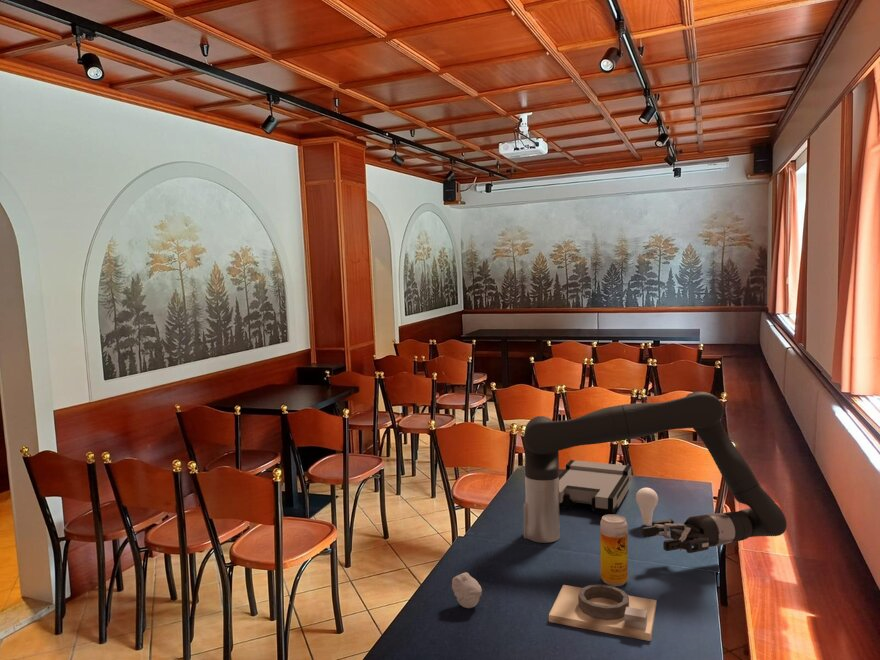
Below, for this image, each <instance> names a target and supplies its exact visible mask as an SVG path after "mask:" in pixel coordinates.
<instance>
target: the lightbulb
mask: <svg viewBox="0 0 880 660" xmlns="http://www.w3.org/2000/svg"><path fill="white" fill-rule="evenodd" d="M635 502H636V504H637V505H638V507H639V510H640V513H641V514H640V515H641V519H642V520H641V522H642V524H643V525H645V527H650V526H652V521H653V520H652V519H653V516H654V515H653V514H654V510H655V509H656V507H657V505H658V502H659V496H658V494H657V492H656V491H655V490H654V489H653V488H650V487H642V488H640V489H639V490H638V491H637V492H636V494H635Z"/></svg>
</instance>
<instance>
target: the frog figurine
mask: <svg viewBox="0 0 880 660" xmlns="http://www.w3.org/2000/svg"><path fill="white" fill-rule="evenodd" d="M451 588H452V591H453V593H454V596H455V597H456V600H457V603H458V604H459V605H460V606H462V607H463V608H466V609H472V608H474V607H476V606H477V605H478V603H479V601H480V598H481V596H482V595H483V594H482V593H483V592H482V591H483V589H482V587H481V585H480V584H479V582H478V581H477V579H475V578H474V577H472V576H471V575H470V574H469V572H466V571H465V572H463V573H460V574H458V575H456V576H454V577H453V578H452V581H451Z"/></svg>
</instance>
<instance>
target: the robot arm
mask: <svg viewBox="0 0 880 660" xmlns="http://www.w3.org/2000/svg"><path fill="white" fill-rule="evenodd" d="M723 415H724V406H723V403H722V401H721V400H720V399H719V398H718V397H717V396H715V395H714V394H712V393H711V392H710V393H709V392H706V391H693V392H690V393H688V394H686V395H685V396H683V397H681V398H676V399H672V400H667V401H661V402H637V403H626V404H619V405H613V406H607V407H603V408H600V409H596V410H594V411H591V412H589V413H586V414H584V415H580V416H578V417H576V418H571V419H564V420H555V421H554V420H552V418H550V417H548V416H544V415H539V416H535V417H533V418H531V419H530V420H529V421H528V422H527V423H526V425H525V429H524V432H523V433H524V434H523V442H524V450H525V451H524V454H525V455H524V485H525V490H524V492H525V502H524V503H523V505H522V506H523V510H522V511H523V538H524V539H527V540H529V541H532V542H535V543H545V544H547V543H553V542H556V541H559V539H560V537H561V536H560V535H561V534H560V532H561V530H560V529H561V528H560V525H561V523H560V508H559V475H560V473H559V471H560V459H559V458H560V457H559V455H560V454H559V451H562V450H567V449H570V448H574V447H579V446H588V445H589V446H590V445H597V444H604V443H605V444H606V443H614V442H620V441H622V442H623V441H626V440H632V439H637V438H642V437H646V436H651V435H655V434H659V433H662V432H665V431H671V430H672V431H673V430H683V429H693V430H694V432H695V433H696V434H697V435H698V437H699V438H700V440H701V441H702V443H703V444H704V445H705V447H706V449H707V450H708V453H709V454H710V455H711V457H712V458H711V459H713V461H714V463H715V465H716V467H717V469H718V471H719V473H720V475H721V477H722V478H723V480H724V482H725V484H726V485H727V488H728V490H729V491H730V493H731V495H732V496H733V498H734V499H735V501H736V502H738V503H740V504H742V505H745V506H747V507H749V508H744V509H740V510H737V511H728V512H721V513H719V512H718V513H708V514H700V515H694V516H689V517H688V518H687V519H686V520H685V521H684V523H675V519H672V518H671V519H668V518H667V519H662V520H660V519H659V520H652V524H651V525H649V526H645V527H642V528H641V537H643V538H650V537H656V536H660V537H664V538H665V539H668V540H664V541H663V550H664V551H666V552H671V551H676V550H679V551H686V553H688V554H694V553H698V552H703V551H707V550H709V548H711V547H713V548H714V547H718V546H723V545H727V544H729V543H736V542H741V541H744V540H748V539H749V538H754V537H756V538H757V537H778V536H781V535H784V533H785V532H786V529H787V525H788V524H787V518H786V515H785V514H784V511H783V510H782V509H781V507H780V506H779V505H778V504H777V503H776V502H775V500H773V498H772V497H771V496H770V495H769V494H768V493H767V492H766V491H765V490H764V489H763V488H762V487H761V485H760V483H759V481H758V479H757V478H756V475H755V474H754V472H753V471H752V469H751V467H750V465H749V463H748V462H747V461H746V459H745V458H744V457H743V456H742V454H741V453H740V451H739V450H738V448H737V447H736V446H735V445H734V443H733V441H732V440H731V438H730V437H729V435H728V434H727V432H726V430H725V428H724V426H723V423H722V421H721V419H722V417H723ZM668 532H669V533H670V534H668Z"/></svg>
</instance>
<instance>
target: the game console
mask: <svg viewBox="0 0 880 660" xmlns="http://www.w3.org/2000/svg"><path fill="white" fill-rule="evenodd" d="M631 481H632V466H631V465H626V464H624V465H623V464H615V463H614V464H613V463H604V462H595V461H583V460H574V459H570V460H569V461H568V462H567V463H566V464H565V469H564V470H563V471H562V472H561V473H559V507H565V508H564V509H566V508H571V507H572V506H573V507H574V505H575V504H576V503H578V504H587V505H591V511H593V513H596V512H598V513H597V514H603V513H605V514H604V515H609V514H613V515H615V513H616V511H617V510H618V507H619V506H620V505H621V503H622V501H623V500H624V498H625V496H626V494H627V492H628V490H629V484H630V482H631ZM575 502H576V503H575ZM574 503H575V504H574ZM573 504H574V505H573ZM573 507H572V508H573ZM572 508H571V509H572ZM616 509H617V510H616Z"/></svg>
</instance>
